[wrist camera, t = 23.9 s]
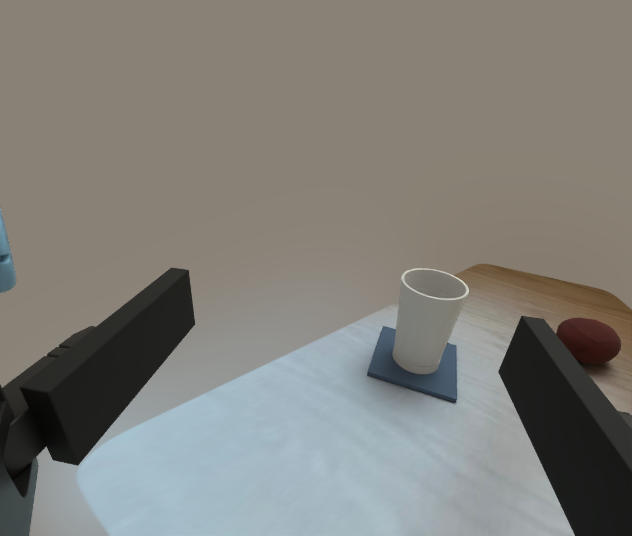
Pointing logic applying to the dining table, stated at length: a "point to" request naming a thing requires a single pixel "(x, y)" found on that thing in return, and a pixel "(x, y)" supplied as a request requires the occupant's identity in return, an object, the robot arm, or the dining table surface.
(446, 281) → the cup
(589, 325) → the potato
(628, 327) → the dining table surface
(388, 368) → the mat
